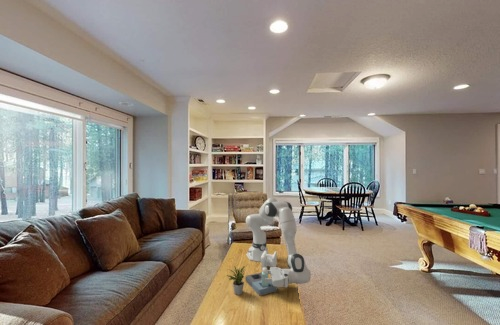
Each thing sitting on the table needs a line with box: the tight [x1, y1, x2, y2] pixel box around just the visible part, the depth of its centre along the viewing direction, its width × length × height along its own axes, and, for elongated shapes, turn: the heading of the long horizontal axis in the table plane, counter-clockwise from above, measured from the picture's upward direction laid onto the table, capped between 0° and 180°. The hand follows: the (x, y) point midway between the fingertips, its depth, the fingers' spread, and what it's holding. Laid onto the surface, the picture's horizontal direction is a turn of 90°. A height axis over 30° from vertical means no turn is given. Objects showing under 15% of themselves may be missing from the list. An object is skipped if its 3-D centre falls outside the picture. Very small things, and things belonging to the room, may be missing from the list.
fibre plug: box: [261, 267, 269, 288], centre depth 157 cm, size 4×4×14 cm
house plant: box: [226, 265, 247, 296], centre depth 155 cm, size 14×14×16 cm
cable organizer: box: [260, 250, 278, 271], centre depth 191 cm, size 15×11×12 cm
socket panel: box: [244, 271, 278, 296], centre depth 162 cm, size 21×13×4 cm, turn 25°
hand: (264, 276), depth 157 cm, fingers open, 8 cm apart
